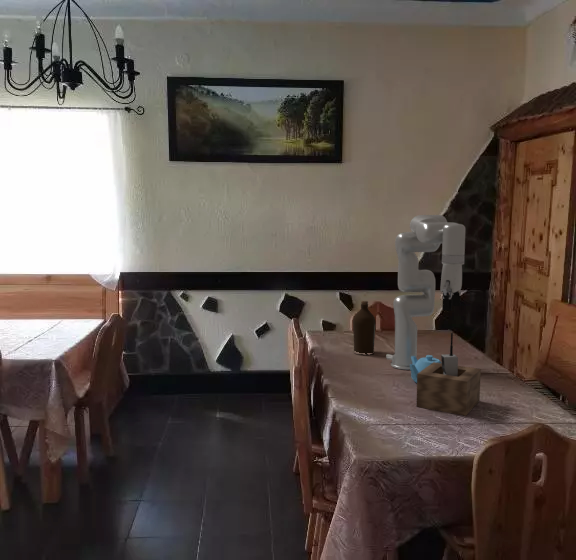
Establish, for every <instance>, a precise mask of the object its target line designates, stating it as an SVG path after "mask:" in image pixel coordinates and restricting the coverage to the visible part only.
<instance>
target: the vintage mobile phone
mask: <svg viewBox="0 0 576 560" xmlns="http://www.w3.org/2000/svg"><path fill="white" fill-rule="evenodd" d="M453 336H454V335H453V332H451V333H450V347H449V351H450V353H449V354H440V356H441V357H440V358H441V359H440V361H441V363H442V369H443V374H444V375H450V376H457V375H458V366H459V357H458V356H457V355H456V354H453V351H454V350H453V347H454V346H453V343H454V342H453V338H454V337H453Z"/></svg>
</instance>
